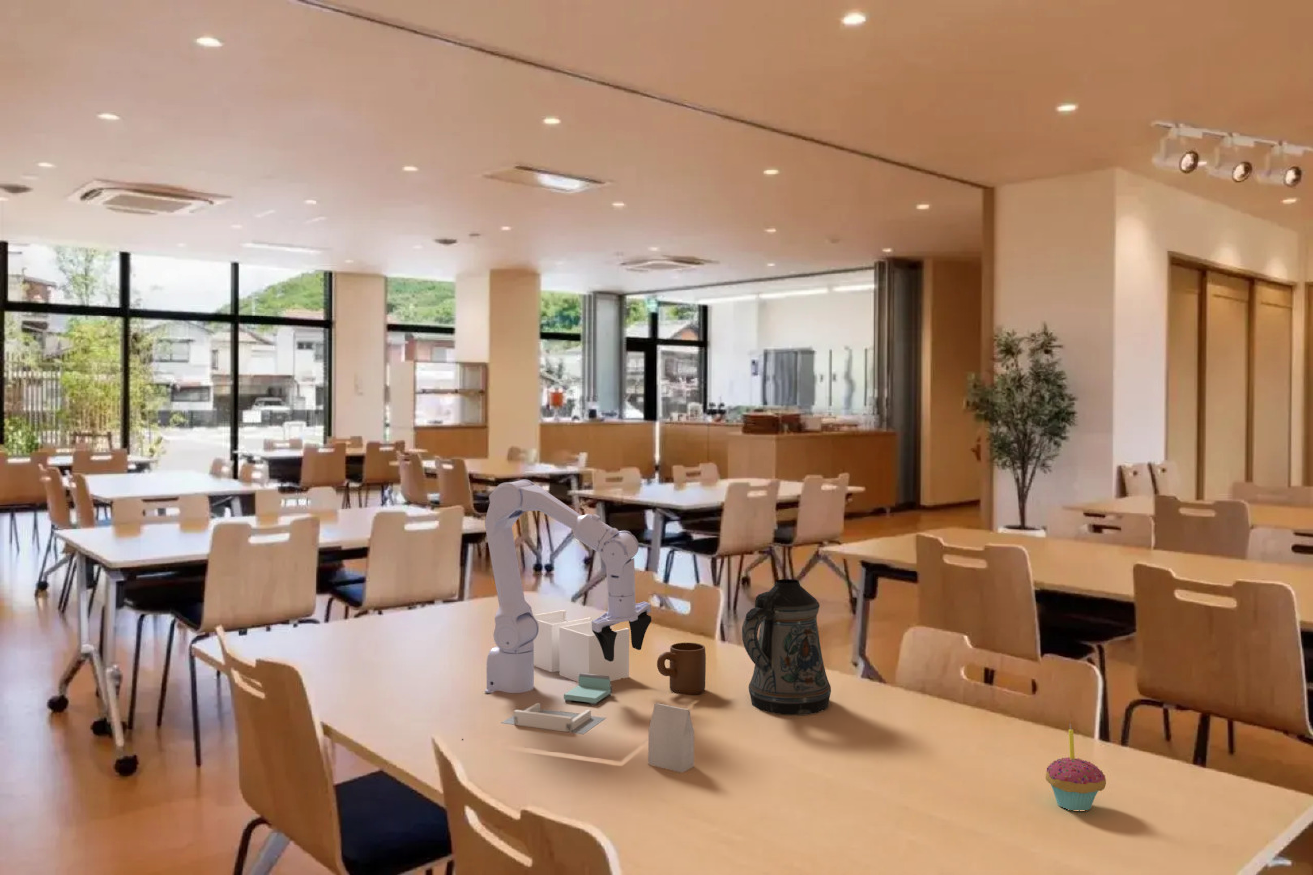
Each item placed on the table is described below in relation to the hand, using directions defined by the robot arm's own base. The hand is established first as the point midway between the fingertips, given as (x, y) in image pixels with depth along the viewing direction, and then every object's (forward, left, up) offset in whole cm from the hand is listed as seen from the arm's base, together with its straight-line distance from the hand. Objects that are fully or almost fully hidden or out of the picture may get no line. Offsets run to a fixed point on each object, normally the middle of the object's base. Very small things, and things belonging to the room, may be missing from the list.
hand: (622, 654), depth 211 cm
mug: (+10, +7, -9) cm, 15 cm away
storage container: (-18, +15, -9) cm, 25 cm away
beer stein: (+33, +7, -9) cm, 35 cm away
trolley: (-5, -6, -9) cm, 12 cm away
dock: (-5, -21, -9) cm, 24 cm away
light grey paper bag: (+23, -33, -9) cm, 41 cm away
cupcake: (+86, -26, -9) cm, 90 cm away
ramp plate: (-5, -14, -8) cm, 17 cm away
